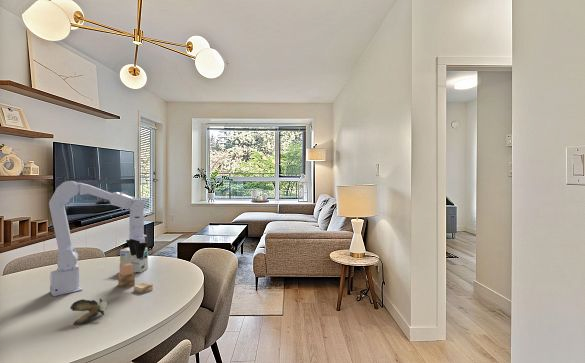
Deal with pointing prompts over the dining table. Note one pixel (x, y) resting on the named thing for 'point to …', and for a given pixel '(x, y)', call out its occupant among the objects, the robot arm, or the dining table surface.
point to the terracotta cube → (126, 269)
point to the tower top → (125, 277)
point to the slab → (143, 287)
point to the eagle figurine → (90, 306)
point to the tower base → (126, 283)
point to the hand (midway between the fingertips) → (136, 256)
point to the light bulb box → (134, 260)
